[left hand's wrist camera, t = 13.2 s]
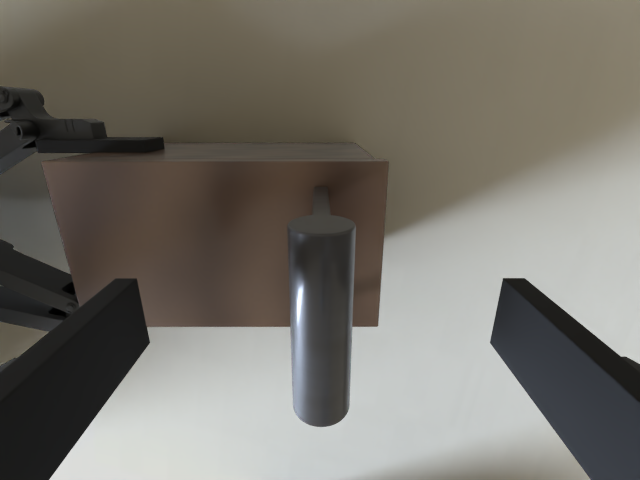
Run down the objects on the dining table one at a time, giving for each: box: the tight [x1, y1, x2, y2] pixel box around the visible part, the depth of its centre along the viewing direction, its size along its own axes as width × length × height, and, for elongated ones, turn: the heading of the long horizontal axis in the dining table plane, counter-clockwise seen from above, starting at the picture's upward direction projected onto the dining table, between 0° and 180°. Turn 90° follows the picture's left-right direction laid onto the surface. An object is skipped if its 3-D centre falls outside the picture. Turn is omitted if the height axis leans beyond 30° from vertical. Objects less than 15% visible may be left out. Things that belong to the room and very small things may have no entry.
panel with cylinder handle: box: [41, 159, 389, 427], centre depth 15 cm, size 17×10×9 cm, turn 90°
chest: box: [59, 143, 375, 159], centre depth 25 cm, size 17×10×11 cm, turn 90°
